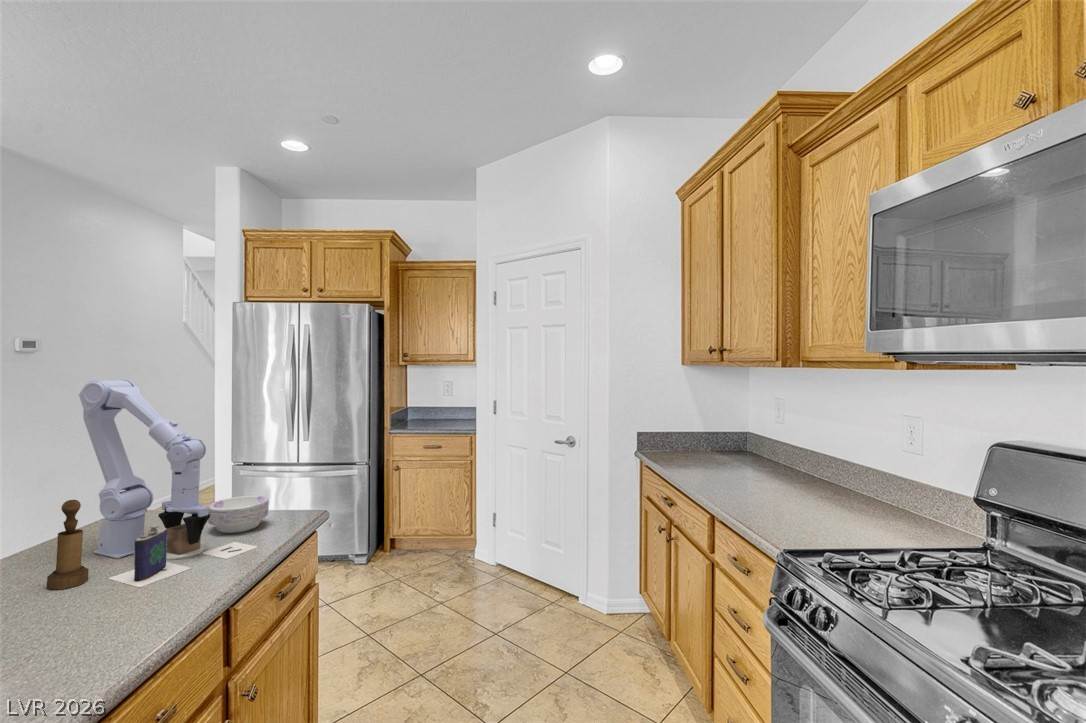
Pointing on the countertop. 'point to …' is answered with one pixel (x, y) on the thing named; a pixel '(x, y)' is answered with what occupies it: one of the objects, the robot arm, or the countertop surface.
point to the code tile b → (229, 550)
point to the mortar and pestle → (69, 552)
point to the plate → (187, 555)
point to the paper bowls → (238, 513)
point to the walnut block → (179, 541)
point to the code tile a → (164, 573)
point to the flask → (150, 553)
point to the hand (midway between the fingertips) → (183, 541)
